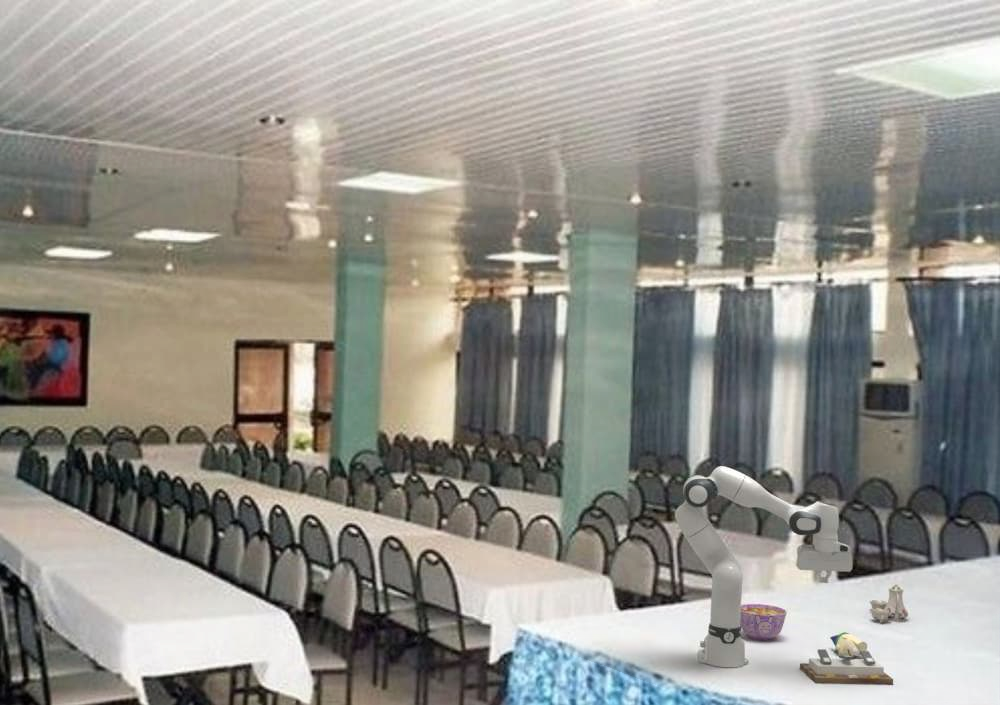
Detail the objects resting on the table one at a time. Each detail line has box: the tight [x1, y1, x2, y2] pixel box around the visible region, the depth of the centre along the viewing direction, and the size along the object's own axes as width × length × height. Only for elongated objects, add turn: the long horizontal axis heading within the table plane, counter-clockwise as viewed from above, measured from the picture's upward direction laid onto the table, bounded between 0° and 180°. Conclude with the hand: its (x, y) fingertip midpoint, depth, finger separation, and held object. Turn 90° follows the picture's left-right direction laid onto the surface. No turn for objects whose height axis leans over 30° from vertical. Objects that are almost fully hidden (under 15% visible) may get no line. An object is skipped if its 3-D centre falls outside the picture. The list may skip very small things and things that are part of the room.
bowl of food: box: [740, 603, 787, 641], centre depth 459 cm, size 20×20×12 cm
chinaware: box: [869, 583, 909, 624], centre depth 500 cm, size 28×17×17 cm, turn 167°
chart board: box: [799, 662, 894, 686], centre depth 407 cm, size 18×28×2 cm, turn 93°
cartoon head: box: [830, 632, 868, 657], centre depth 436 cm, size 9×10×20 cm
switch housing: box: [808, 657, 884, 676], centre depth 407 cm, size 10×24×4 cm, turn 93°
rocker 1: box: [817, 649, 832, 665], centre depth 406 cm, size 7×3×1 cm, turn 3°
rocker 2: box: [838, 654, 855, 660], centre depth 407 cm, size 7×3×1 cm, turn 3°
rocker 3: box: [860, 650, 875, 664], centre depth 407 cm, size 7×3×1 cm, turn 3°
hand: (823, 582), depth 413 cm, fingers closed
